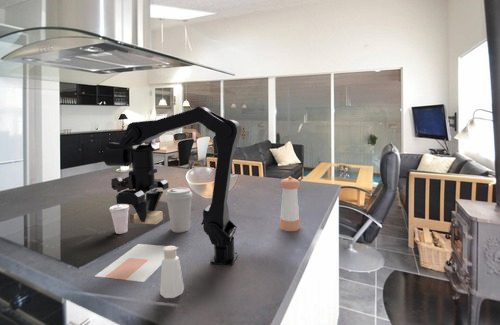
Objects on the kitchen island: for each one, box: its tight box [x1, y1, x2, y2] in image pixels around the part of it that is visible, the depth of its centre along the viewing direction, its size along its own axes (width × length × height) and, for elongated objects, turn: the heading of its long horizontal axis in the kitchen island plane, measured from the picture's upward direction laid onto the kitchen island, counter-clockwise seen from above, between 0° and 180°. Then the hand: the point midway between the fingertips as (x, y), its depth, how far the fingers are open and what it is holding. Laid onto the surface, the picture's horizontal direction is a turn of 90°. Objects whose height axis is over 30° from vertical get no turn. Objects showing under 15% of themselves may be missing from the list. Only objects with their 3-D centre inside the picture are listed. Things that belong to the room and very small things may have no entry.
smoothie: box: [109, 194, 130, 235], centre depth 97 cm, size 6×6×14 cm
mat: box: [94, 243, 180, 283], centre depth 78 cm, size 19×14×1 cm
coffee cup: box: [164, 186, 194, 233], centre depth 99 cm, size 10×10×15 cm
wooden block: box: [129, 210, 164, 225], centre depth 80 cm, size 8×4×2 cm, turn 81°
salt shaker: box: [279, 176, 301, 232], centre depth 100 cm, size 7×7×19 cm
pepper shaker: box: [159, 245, 185, 299], centre depth 62 cm, size 5×5×11 cm
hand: (146, 219), depth 80 cm, fingers closed on wooden block, 4 cm apart
